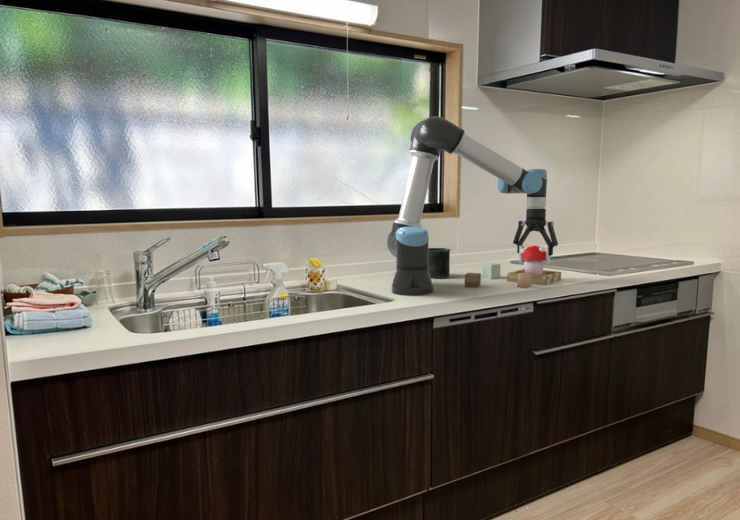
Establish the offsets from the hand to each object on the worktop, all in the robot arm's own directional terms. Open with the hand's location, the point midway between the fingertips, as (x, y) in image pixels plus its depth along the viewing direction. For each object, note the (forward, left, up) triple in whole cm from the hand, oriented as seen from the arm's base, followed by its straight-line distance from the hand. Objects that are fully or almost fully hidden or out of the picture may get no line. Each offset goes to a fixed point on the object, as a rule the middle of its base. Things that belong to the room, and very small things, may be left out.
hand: (534, 262), depth 220 cm
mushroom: (0, 0, -5) cm, 5 cm away
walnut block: (-27, +13, -8) cm, 31 cm away
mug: (-15, +38, -8) cm, 42 cm away
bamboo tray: (0, 0, -7) cm, 7 cm away
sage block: (-4, +17, -8) cm, 19 cm away
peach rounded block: (-16, -3, -7) cm, 18 cm away
